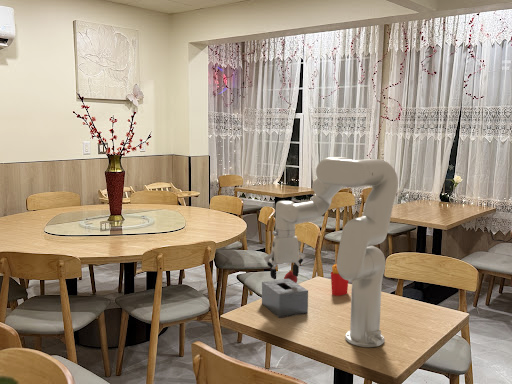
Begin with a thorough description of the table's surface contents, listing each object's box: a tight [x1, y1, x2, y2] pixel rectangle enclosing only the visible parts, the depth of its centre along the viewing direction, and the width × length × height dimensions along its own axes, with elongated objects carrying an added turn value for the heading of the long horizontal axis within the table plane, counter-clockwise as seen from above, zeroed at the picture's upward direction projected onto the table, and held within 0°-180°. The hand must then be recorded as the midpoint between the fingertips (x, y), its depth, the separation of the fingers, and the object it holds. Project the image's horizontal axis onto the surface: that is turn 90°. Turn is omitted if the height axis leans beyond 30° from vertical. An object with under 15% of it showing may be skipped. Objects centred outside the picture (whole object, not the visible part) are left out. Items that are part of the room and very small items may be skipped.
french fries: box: [330, 263, 349, 297], centre depth 210 cm, size 9×4×13 cm, turn 122°
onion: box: [283, 269, 298, 284], centre depth 218 cm, size 6×6×8 cm
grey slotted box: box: [261, 278, 309, 319], centre depth 192 cm, size 16×12×9 cm
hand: (284, 276), depth 191 cm, fingers open, 9 cm apart
